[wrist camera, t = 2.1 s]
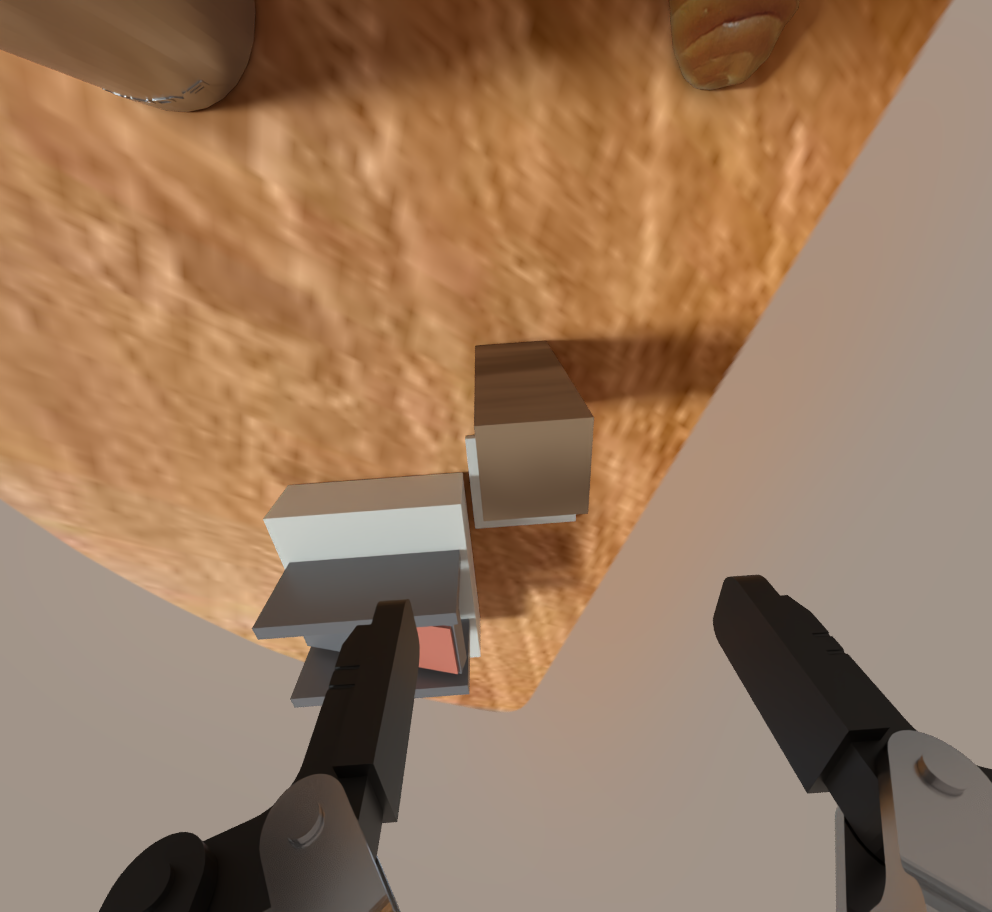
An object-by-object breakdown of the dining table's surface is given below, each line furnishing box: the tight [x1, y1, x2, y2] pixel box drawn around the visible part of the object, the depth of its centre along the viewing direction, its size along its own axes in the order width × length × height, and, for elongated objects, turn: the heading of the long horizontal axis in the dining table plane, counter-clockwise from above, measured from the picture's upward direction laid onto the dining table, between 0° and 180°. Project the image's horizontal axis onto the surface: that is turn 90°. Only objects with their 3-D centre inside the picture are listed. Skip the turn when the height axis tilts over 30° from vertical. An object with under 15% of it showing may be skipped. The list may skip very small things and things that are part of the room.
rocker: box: [304, 611, 467, 674], centre depth 28 cm, size 5×12×1 cm, turn 94°
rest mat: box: [465, 435, 576, 529], centre depth 30 cm, size 8×8×1 cm
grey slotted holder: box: [252, 472, 481, 707], centre depth 30 cm, size 16×13×9 cm
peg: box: [474, 341, 594, 521], centre depth 21 cm, size 4×4×12 cm
